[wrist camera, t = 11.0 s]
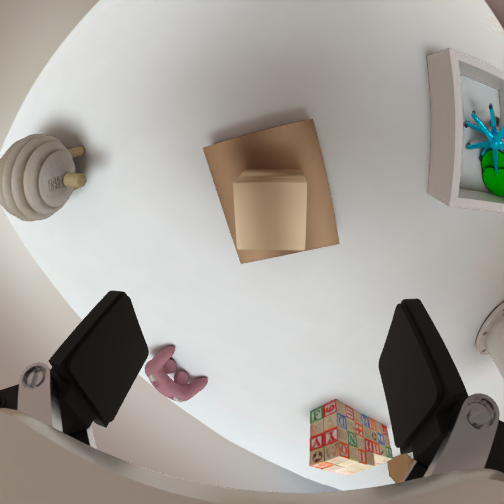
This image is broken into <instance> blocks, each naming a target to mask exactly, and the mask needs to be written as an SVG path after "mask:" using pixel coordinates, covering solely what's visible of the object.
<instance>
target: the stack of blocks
mask: <svg viewBox="0 0 504 504" xmlns="http://www.w3.org/2000/svg"><path fill="white" fill-rule="evenodd" d="M310 424H311V425H310V463H309V466H312V467H316V468H319V469H321V470H324V471H328V472H334V473H339V474H340V473H341V474H344V475H352V474H355V473H358V472H360V471H363V470H366V469H369V468H372V467H374V466H377V465H379V464H381V463H384V462H386V461H389V460H391V459H393V456H392V450H391V448H390V441H389V437H388V431H387V427H386V426H384V425H382V424H380V423H378V422H377V421H374V420H373V419H371V418H369V417H367V416H365V415H363V414H361V413H359V412H357V411H355V410H354V409H352V408H351V407H349V406H347V405H345V404H344V403H342V402H340V401H339V400H337V399H335V400H333V401H331V402H329V403H327V404H325V405H323V406H321V407H319V408H317V409H315V410H313V411H310Z"/></svg>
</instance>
